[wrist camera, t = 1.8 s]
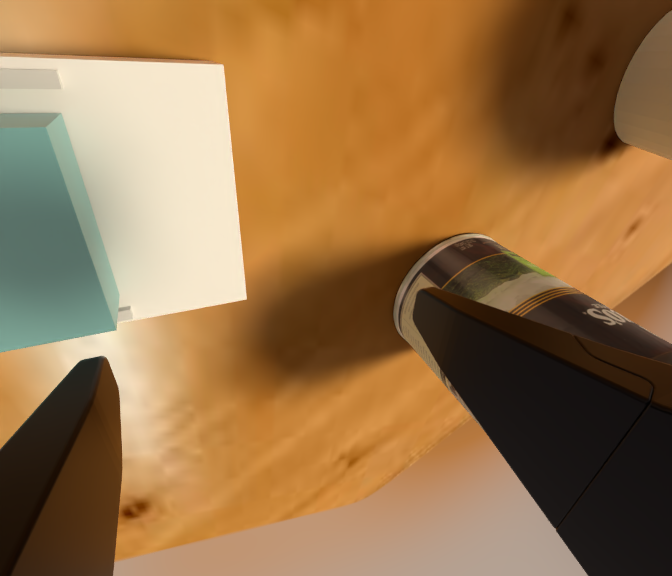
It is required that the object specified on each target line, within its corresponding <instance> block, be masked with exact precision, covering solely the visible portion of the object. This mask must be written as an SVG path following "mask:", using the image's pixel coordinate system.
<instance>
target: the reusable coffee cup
mask: <svg viewBox="0 0 672 576" xmlns="http://www.w3.org/2000/svg"><path fill="white" fill-rule="evenodd" d="M614 125H615V131H616V133H617V135H618V137H619V138H620V139H621V141H622V142H624V143H627V144H629V145H632V146H635V147H638V148H640V149H643V150H646V151H648V152H651V153H654V154H656V155H659V156H662V157H665V158H667V159H670V160H672V10H671V11H670V12H668V13H667V14H666V15H665V16H664V17H663V18H662V19H661V20H660V21H659V22H658V23H657V24H656V25H655V26H654V27H653V28H652V30H651V31H650V32H649V33H648V35H647V36H646V37H645V38H644V40H643V41H642V43H641V44H640V46H639V48H638V49H637V51H636V52H635V54H634V56H633V58H632V60H631V61H630V63H629V65H628V67H627V69H626V72H625V74H624V77H623V79H622V81H621V84H620V87H619V91H618V94H617V98H616V103H615V108H614Z"/></svg>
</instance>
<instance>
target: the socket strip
mask: <svg viewBox="0 0 672 576" xmlns="http://www.w3.org/2000/svg"><path fill="white" fill-rule="evenodd" d="M21 113H62V116H63V119H64V123H65V126H66V129H67V132H68V135H69V138H70V141H71V144H72V148H73V151H74V154H75V157H76V160H77V163H78V166H79V169H80V173H81V176H82V179H83V182H84V185H85V188H86V191H87V194H88V198H89V201H90V204H91V207H92V210H93V213H94V216H95V219H96V222H97V226H98V229H99V232H100V235H101V238H102V241H103V244H104V247H105V251H106V254H107V257H108V260H109V263H110V266H111V269H112V272H113V276H114V279H115V282H116V285H117V288H118V291H119V294H120V296H119V307H118V318H117V324H118V323H124V322H129V321H134V320H140V319H145V318H150V317H156V316H161V315H166V314H172V313H177V312H182V311H188V310H193V309H198V308H204V307H209V306H214V305H220V304H225V303H230V302H236V301H241V300H246V299H247V296H246V286H245V276H244V266H243V256H242V246H241V236H240V226H239V216H238V206H237V196H236V186H235V176H234V166H233V156H232V146H231V136H230V126H229V116H228V106H227V96H226V86H225V76H224V66H223V64H220V63H217V62H213V61H201V60H176V59H151V58H125V57H100V56H74V55H49V54H24V53H0V114H21Z"/></svg>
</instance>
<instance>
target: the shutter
mask: <svg viewBox="0 0 672 576" xmlns="http://www.w3.org/2000/svg"><path fill="white" fill-rule="evenodd" d="M119 296H120V294H119V291H118V288H117V285H116V282H115V279H114V276H113V272H112V269H111V266H110V263H109V260H108V257H107V254H106V251H105V247H104V244H103V241H102V238H101V235H100V232H99V229H98V226H97V222H96V219H95V216H94V213H93V210H92V207H91V204H90V201H89V198H88V194H87V191H86V188H85V185H84V182H83V179H82V176H81V173H80V169H79V166H78V163H77V160H76V157H75V154H74V151H73V148H72V144H71V141H70V138H69V135H68V132H67V129H66V126H65V123H64V119H63V116H62V113H21V114H0V352H5V351H10V350H16V349H21V348H26V347H31V346H36V345H41V344H47V343H52V342H57V341H62V340H67V339H73V338H78V337H83V336H88V335H93V334H99V333H104V332H109V331H114V330H116V328H117V318H118V307H119Z"/></svg>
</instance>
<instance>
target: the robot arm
mask: <svg viewBox="0 0 672 576" xmlns="http://www.w3.org/2000/svg"><path fill="white" fill-rule="evenodd" d="M412 317H413V322H414V324H415V326H416V328H417V329H418V331H419V333H420V335H421V336H422V338H423V340H424V342H425V343H426V345H427V347H428V349H429V350H430V352H431V354H432V356H433V357H434V359H435V361H436V363H437V364H438V366H439V367H440V369H441V371H442V372H443V373H444V375H445V376H446V378H447V379H448V381H449V382H450V383H451V385H452V386H453V388H454V389H455V390H456V392H457V393H458V395H459V396H460V397H461V399H462V400H463V402H464V403H465V404H466V406H467V407H468V408H469V410H470V411H471V413H472V414H473V415H474V417H475V418H476V420H477V421H478V422H479V424H480V425H481V427H482V428H483V429H484V431H485V432H486V433H487V435H488V436H489V438H490V439H491V441H492V442H493V443H494V445H495V446H496V447H497V449H498V450H499V452H500V453H501V454H502V456H503V457H504V458H505V460H506V461H507V463H508V464H509V466H510V467H511V468H512V470H513V471H514V473H515V474H516V475H517V477H518V478H519V480H520V481H521V482H522V484H523V485H524V487H525V488H526V489H527V490H528V492H529V493H530V495H531V496H532V497H533V499H534V500H535V502H536V503H537V504H538V506H539V507H540V509H541V510H542V511H543V513H544V514H545V515H546V517H547V518H548V520H549V521H550V523H551V524H552V526H553V527H554V528H556V531H557V533H558V534H559V536H560V537H561V538H562V540H563V541H564V542H565V544H566V545H567V547H568V548H569V550H570V551H571V552H572V554H573V555H574V557H575V558H576V559H577V561H578V562H579V564H580V565H581V566H582V568H583V569H584V570H585V572H586V573H587V575H588V576H672V365H670V364H666V363H663V362H659V361H656V360H653V359H649V358H646V357H642V356H639V355H636V354H632V353H629V352H626V351H622V350H619V349H616V348H613V347H610V346H607V345H604V344H601V343H598V342H595V341H591V340H589V339H586V338H583V337H580V336H577V335H572V334H571V333H568V332H565V331H562V330H559V329H556V328H553V327H550V326H547V325H544V324H541V323H539V322H536V321H533V320H530V319H527V318H524V317H521V316H518V315H515V314H512V313H509V312H506V311H503V310H500V309H498V308H495V307H492V306H489V305H486V304H483V303H480V302H477V301H474V300H471V299H468V298H465V297H462V296H459V295H456V294H454V293H451V292H448V291H445V290H442V289H439V288H436V287H427V288H423V289H420V290H418V292H417V294H416V299H415V304H414V309H413V314H412ZM121 481H122V441H121V419H120V398H119V390H118V386H117V383H116V380H115V378H114V375H113V372H112V370H111V367H110V364H109V362H108V360H107V358H106V357H104V356H99V357H94V358H89V359H84V360H81V361H80V362H79V363H77V365H76V366H75V367H74V368H73V369H72V370H71V371H70V372H69V373H68V375H67V376H66V377H65V378H64V379H63V380H62V381H61V382H60V383H59V385H58V386H57V387H56V388H55V389H54V390H53V391H52V392H51V393H50V395H49V396H48V397H47V398H46V399H45V400H44V401H43V402H42V403H41V405H40V406H39V407H38V408H37V409H36V410H35V411H34V412H33V413H32V415H31V416H30V417H29V418H28V419H27V420H26V421H25V422H24V423H23V425H22V426H21V427H20V428H19V429H18V430H17V431H16V432H15V433H14V435H13V436H12V437H11V438H10V439H9V440H8V441H7V442H6V443H5V445H4V446H3V447H2V448H1V449H0V576H113V570H114V559H115V547H116V536H117V525H118V514H119V503H120V492H121Z"/></svg>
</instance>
